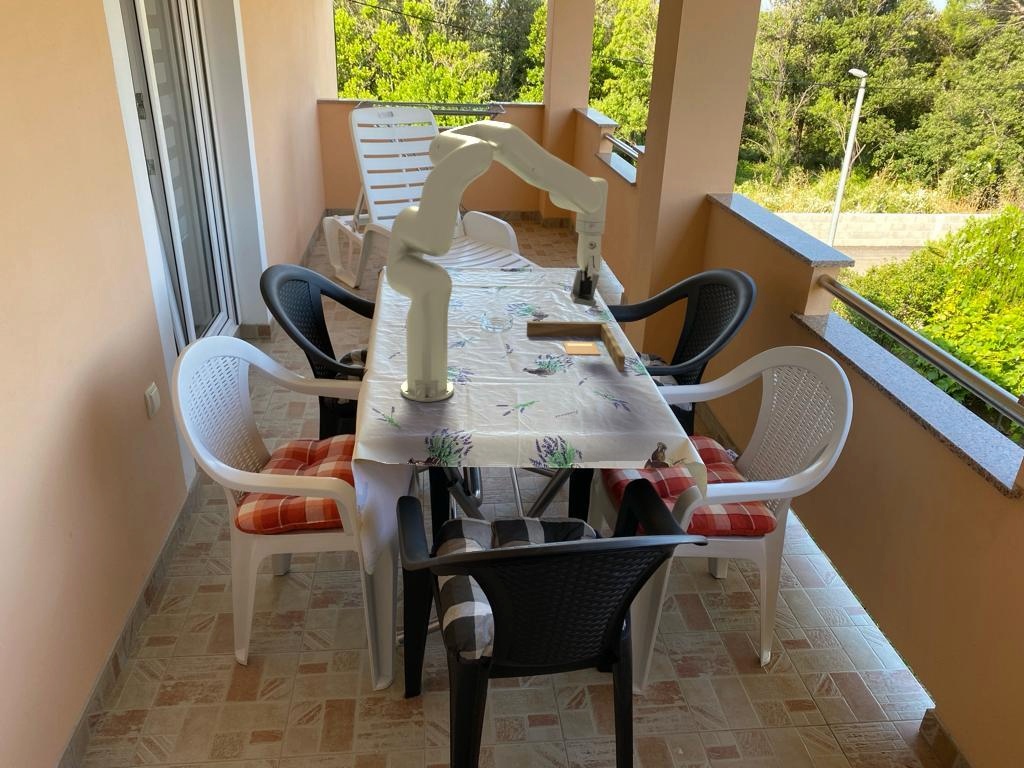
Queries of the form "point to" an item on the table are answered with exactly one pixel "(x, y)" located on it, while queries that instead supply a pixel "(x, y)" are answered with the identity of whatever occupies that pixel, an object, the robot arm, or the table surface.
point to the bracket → (583, 299)
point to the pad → (581, 348)
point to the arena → (580, 335)
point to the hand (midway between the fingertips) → (584, 293)
